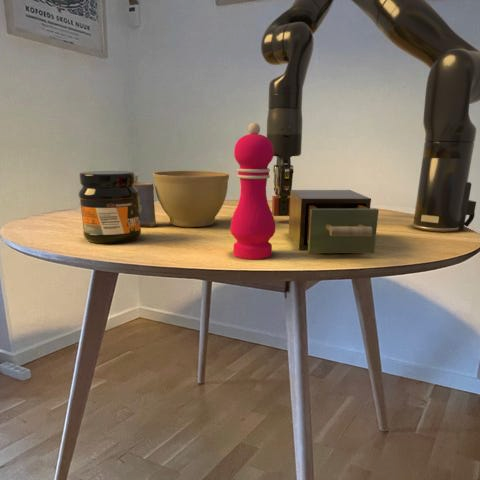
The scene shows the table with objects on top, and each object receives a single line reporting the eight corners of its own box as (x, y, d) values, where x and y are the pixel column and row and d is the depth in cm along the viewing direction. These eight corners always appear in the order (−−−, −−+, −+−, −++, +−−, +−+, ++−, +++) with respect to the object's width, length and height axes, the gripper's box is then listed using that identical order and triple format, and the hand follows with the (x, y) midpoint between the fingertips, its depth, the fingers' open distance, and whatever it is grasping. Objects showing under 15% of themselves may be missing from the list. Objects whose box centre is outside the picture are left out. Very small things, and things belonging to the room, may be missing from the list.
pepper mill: (229, 250, 80) (228, 123, 72) (271, 249, 80) (274, 123, 73) (232, 260, 73) (231, 121, 66) (277, 259, 74) (282, 121, 66)
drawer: (383, 260, 70) (389, 214, 67) (314, 260, 69) (317, 214, 67) (353, 237, 86) (357, 199, 83) (297, 237, 86) (299, 199, 83)
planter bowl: (174, 233, 93) (172, 176, 89) (144, 221, 106) (141, 171, 102) (243, 226, 101) (243, 173, 97) (207, 216, 114) (206, 169, 110)
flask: (158, 225, 101) (155, 174, 97) (149, 228, 99) (145, 175, 95) (125, 222, 105) (121, 172, 101) (116, 224, 103) (111, 173, 99)
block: (289, 213, 108) (289, 195, 106) (291, 216, 104) (292, 197, 103) (271, 213, 108) (272, 195, 106) (273, 216, 104) (274, 197, 102)
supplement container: (111, 247, 81) (104, 175, 77) (71, 240, 87) (63, 172, 82) (153, 237, 89) (149, 172, 85) (114, 231, 95) (108, 169, 90)
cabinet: (366, 249, 80) (371, 198, 77) (299, 250, 80) (301, 198, 77) (346, 234, 93) (350, 189, 90) (288, 234, 93) (290, 189, 90)
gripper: (263, 133, 106) (262, 209, 112) (270, 131, 93) (268, 219, 99) (296, 133, 106) (293, 209, 113) (307, 131, 93) (303, 218, 99)
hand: (281, 213), depth 106 cm, fingers closed on block, 4 cm apart
